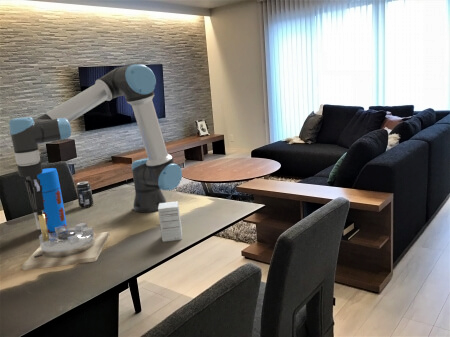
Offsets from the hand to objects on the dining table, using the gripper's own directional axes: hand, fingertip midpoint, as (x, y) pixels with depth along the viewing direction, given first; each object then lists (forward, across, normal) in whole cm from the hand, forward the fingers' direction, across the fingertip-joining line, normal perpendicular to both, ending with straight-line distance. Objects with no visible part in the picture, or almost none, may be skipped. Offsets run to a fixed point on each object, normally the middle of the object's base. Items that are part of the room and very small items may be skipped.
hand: (41, 228), depth 149 cm
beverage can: (+12, +49, -33) cm, 60 cm away
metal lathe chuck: (+8, -4, -7) cm, 11 cm away
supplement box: (+10, -23, -39) cm, 46 cm away
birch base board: (+10, -4, -7) cm, 13 cm away
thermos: (+11, +29, -11) cm, 33 cm away
